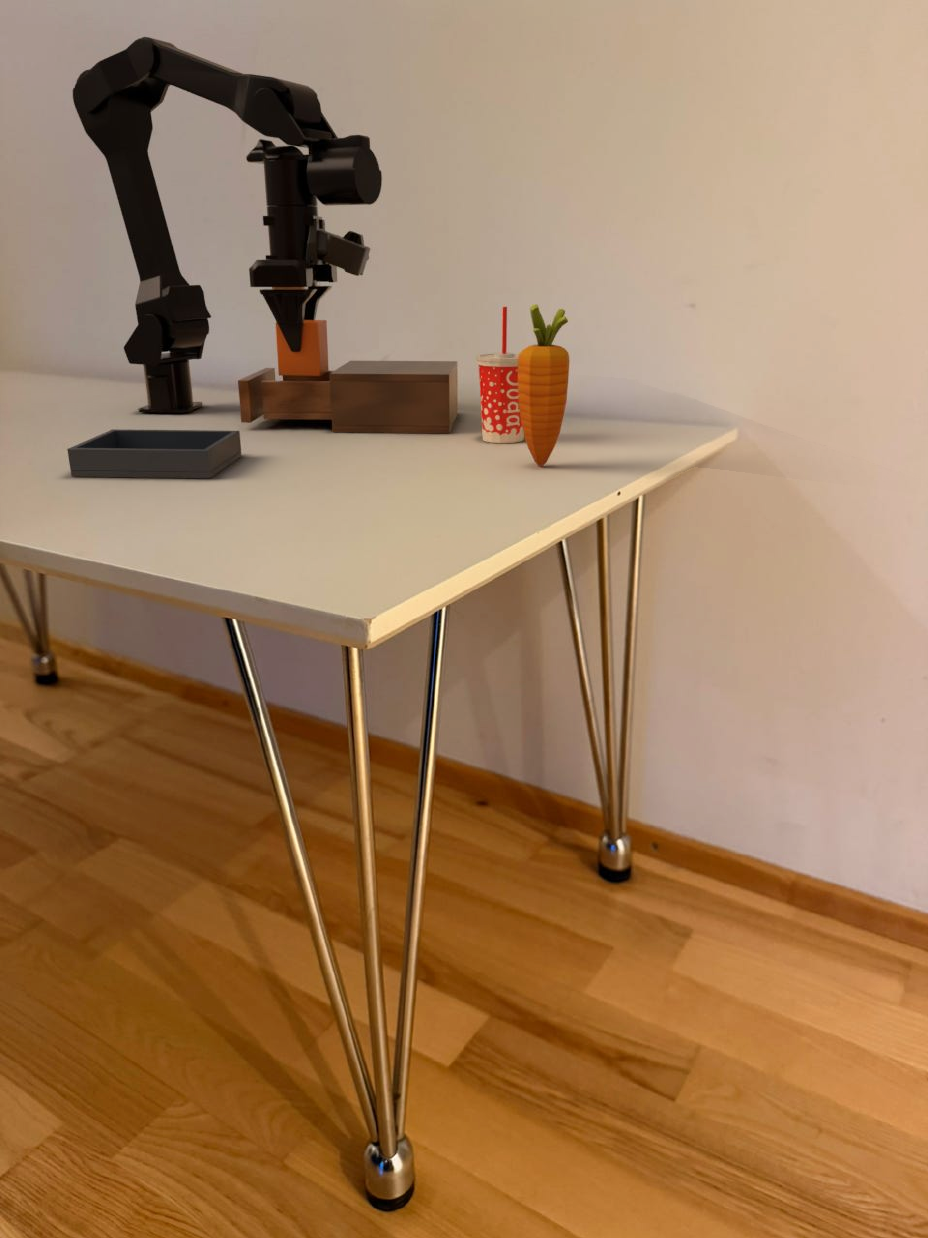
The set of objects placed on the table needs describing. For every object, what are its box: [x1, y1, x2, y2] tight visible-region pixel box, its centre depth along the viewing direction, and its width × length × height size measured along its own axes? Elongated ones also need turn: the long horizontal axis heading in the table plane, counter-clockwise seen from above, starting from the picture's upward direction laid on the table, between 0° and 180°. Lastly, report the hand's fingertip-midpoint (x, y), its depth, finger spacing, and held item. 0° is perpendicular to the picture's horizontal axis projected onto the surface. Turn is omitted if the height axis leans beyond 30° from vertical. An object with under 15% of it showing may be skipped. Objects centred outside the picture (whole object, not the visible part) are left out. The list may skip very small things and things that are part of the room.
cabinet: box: [329, 360, 459, 434], centre depth 114 cm, size 14×14×7 cm
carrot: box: [518, 304, 570, 468], centre depth 89 cm, size 5×5×15 cm
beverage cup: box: [475, 306, 525, 444], centre depth 103 cm, size 6×6×14 cm
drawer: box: [237, 367, 334, 424], centre depth 115 cm, size 14×12×5 cm
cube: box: [275, 319, 330, 377], centre depth 113 cm, size 5×5×6 cm
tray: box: [66, 428, 243, 479], centre depth 92 cm, size 10×13×3 cm
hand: (301, 349), depth 113 cm, fingers closed on cube, 5 cm apart
